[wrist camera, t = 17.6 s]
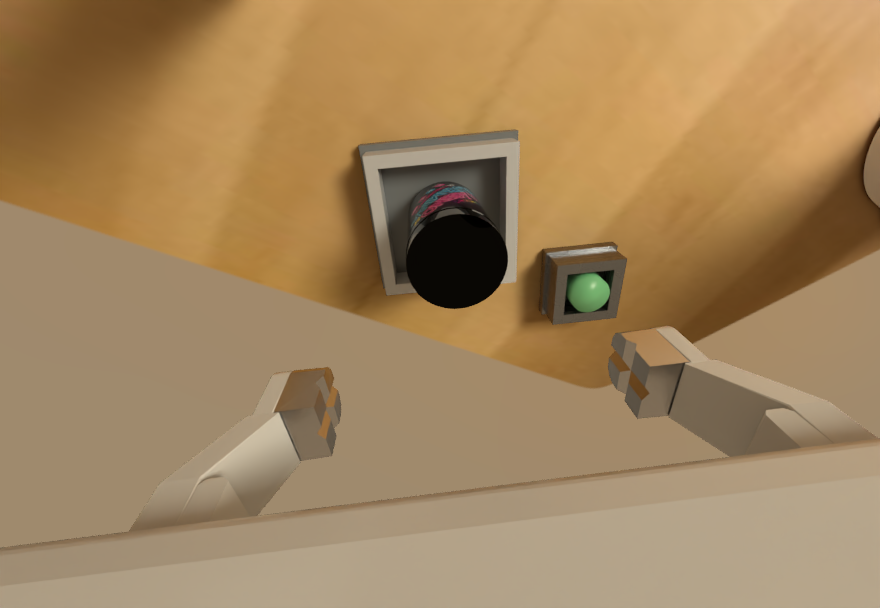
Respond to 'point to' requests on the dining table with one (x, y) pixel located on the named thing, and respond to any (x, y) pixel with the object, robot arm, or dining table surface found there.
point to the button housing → (575, 262)
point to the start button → (587, 291)
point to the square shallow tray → (430, 161)
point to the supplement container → (453, 247)
